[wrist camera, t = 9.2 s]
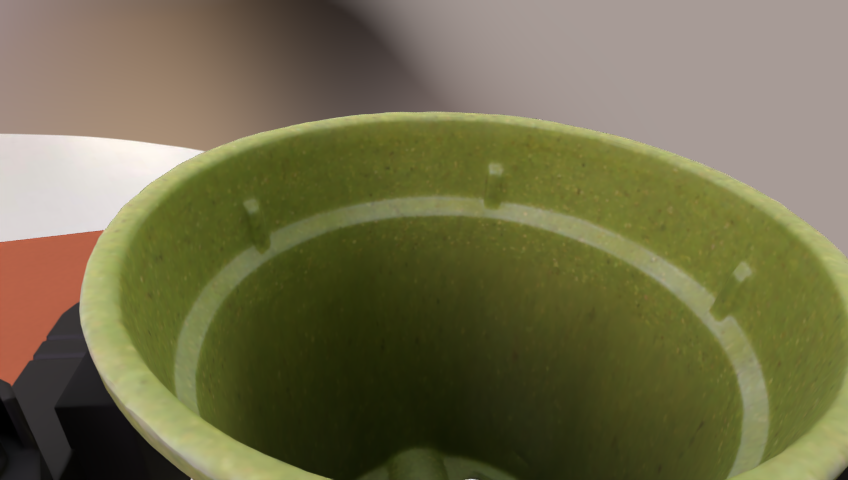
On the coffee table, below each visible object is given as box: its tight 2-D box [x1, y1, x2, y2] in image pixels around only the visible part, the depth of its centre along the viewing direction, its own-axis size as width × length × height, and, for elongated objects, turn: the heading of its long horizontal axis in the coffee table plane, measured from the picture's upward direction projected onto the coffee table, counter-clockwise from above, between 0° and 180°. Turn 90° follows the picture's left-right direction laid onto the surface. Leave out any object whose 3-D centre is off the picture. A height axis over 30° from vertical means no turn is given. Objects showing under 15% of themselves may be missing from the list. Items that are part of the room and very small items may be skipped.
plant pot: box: [79, 112, 848, 480], centre depth 10 cm, size 9×9×9 cm
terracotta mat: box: [0, 230, 104, 386], centre depth 35 cm, size 20×20×1 cm
